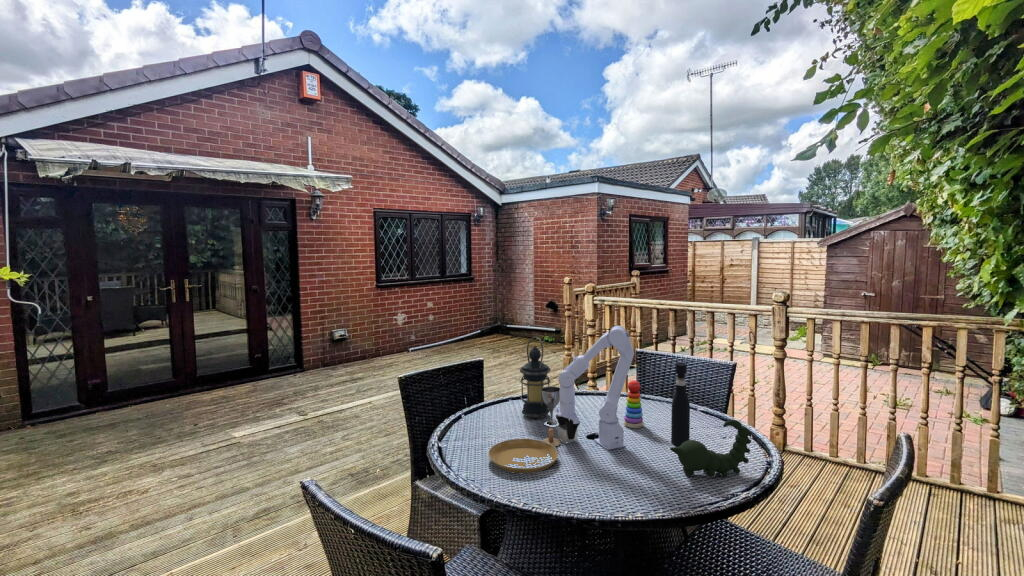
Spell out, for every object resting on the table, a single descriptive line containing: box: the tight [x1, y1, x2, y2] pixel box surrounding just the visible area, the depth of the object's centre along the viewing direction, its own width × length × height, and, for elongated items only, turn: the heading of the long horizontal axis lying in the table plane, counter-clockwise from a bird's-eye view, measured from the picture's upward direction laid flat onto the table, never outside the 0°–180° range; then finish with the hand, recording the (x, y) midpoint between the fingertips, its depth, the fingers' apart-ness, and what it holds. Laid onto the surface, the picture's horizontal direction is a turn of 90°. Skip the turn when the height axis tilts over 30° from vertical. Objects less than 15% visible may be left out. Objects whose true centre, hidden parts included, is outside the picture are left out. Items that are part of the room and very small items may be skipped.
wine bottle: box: [670, 362, 691, 447], centre depth 175 cm, size 6×6×30 cm
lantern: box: [519, 336, 551, 419], centre depth 207 cm, size 14×13×35 cm
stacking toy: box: [623, 380, 645, 429], centre depth 194 cm, size 8×8×19 cm
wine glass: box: [542, 385, 560, 425], centre depth 197 cm, size 8×8×15 cm
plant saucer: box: [487, 438, 559, 474], centre depth 164 cm, size 24×24×3 cm
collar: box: [557, 424, 578, 444], centre depth 181 cm, size 6×6×5 cm
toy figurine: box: [669, 419, 752, 479], centre depth 151 cm, size 9×19×25 cm
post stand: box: [541, 428, 561, 448], centre depth 178 cm, size 7×7×6 cm
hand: (567, 436), depth 181 cm, fingers closed on collar, 5 cm apart
